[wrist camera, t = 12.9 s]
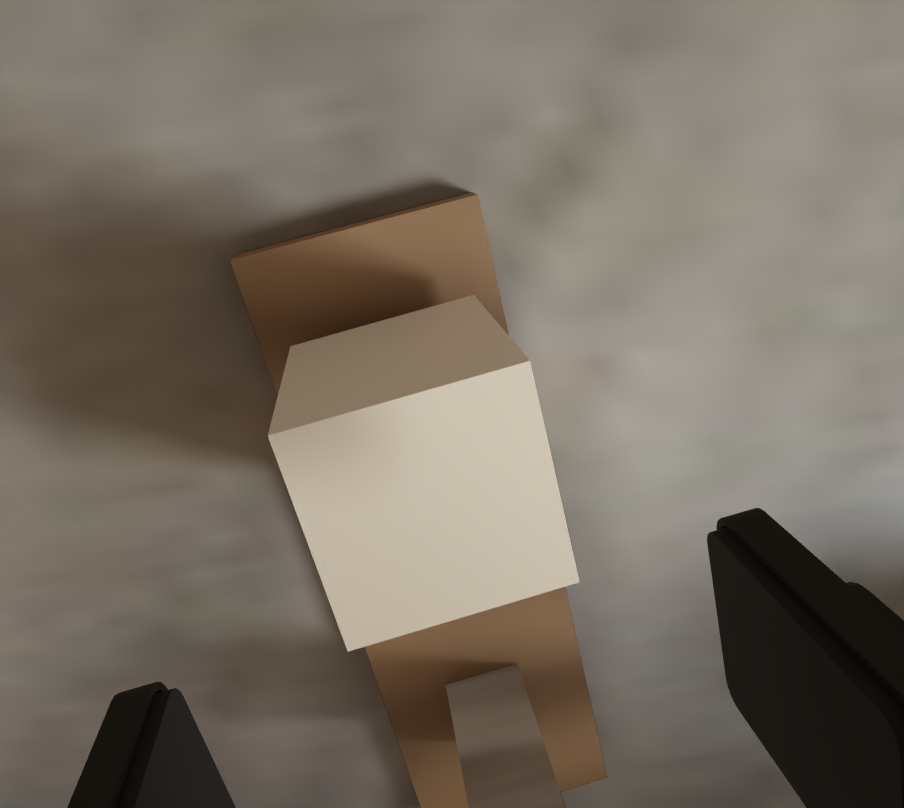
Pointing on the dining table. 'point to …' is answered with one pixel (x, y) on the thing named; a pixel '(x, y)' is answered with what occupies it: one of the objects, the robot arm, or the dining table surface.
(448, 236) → the post strip
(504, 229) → the dining table surface
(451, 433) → the cream rectangular block
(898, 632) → the robot arm
